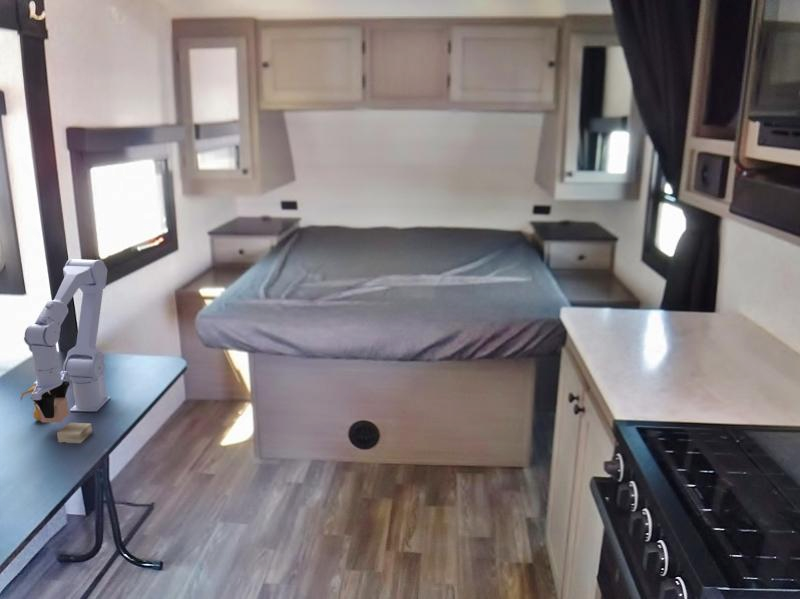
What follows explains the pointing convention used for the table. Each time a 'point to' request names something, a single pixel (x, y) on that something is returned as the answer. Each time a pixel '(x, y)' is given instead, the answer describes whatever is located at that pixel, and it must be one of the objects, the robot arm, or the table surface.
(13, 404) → the table surface
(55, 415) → the terracotta cube
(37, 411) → the figurine
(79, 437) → the birch base block
